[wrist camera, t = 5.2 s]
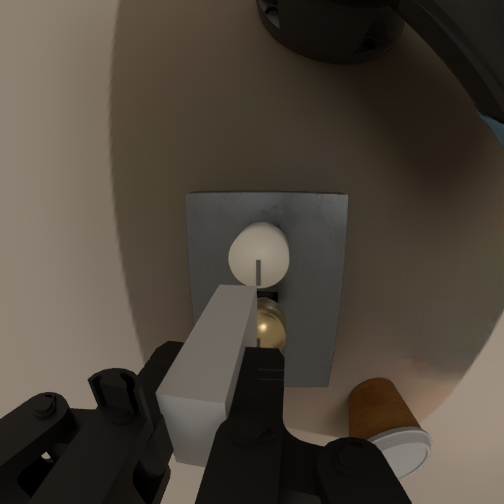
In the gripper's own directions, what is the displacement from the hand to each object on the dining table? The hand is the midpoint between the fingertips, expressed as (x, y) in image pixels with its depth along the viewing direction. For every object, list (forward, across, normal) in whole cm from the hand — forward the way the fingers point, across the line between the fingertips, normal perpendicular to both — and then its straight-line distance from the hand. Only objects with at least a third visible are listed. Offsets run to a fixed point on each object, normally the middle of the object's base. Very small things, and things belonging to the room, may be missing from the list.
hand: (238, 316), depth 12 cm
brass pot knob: (+14, 0, -6) cm, 15 cm away
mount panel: (+17, 0, -6) cm, 18 cm away
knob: (+14, 0, 0) cm, 14 cm away
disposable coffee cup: (+17, +14, -20) cm, 30 cm away
